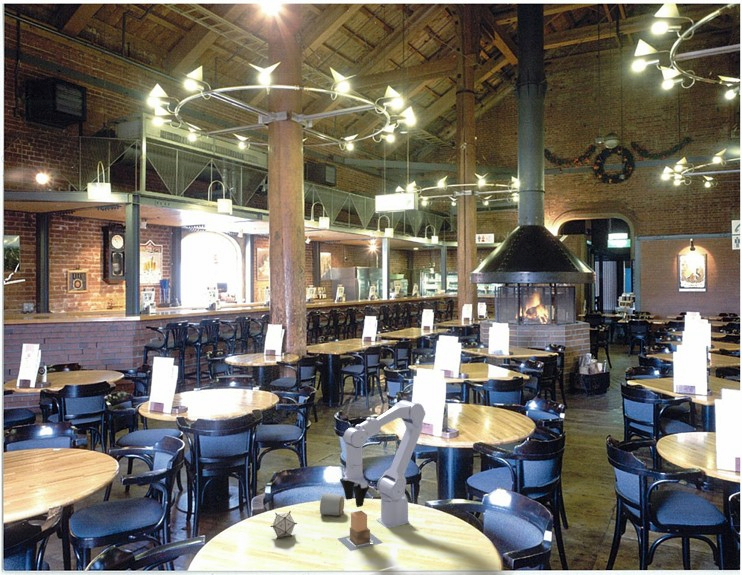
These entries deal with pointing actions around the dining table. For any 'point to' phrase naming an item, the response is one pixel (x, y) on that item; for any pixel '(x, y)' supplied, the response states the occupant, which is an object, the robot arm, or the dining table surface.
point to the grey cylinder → (331, 504)
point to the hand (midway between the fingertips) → (354, 502)
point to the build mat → (353, 546)
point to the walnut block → (360, 536)
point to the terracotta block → (358, 521)
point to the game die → (283, 525)
